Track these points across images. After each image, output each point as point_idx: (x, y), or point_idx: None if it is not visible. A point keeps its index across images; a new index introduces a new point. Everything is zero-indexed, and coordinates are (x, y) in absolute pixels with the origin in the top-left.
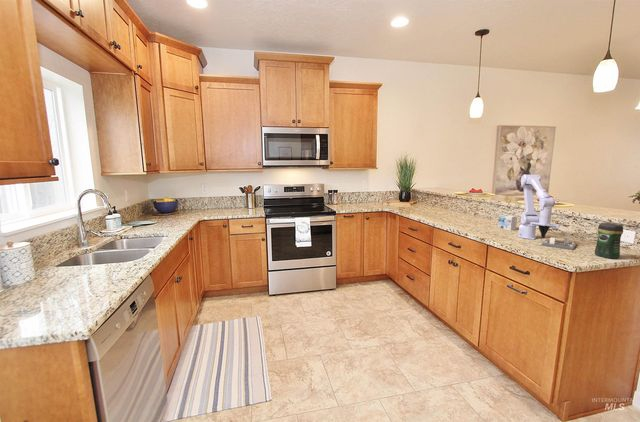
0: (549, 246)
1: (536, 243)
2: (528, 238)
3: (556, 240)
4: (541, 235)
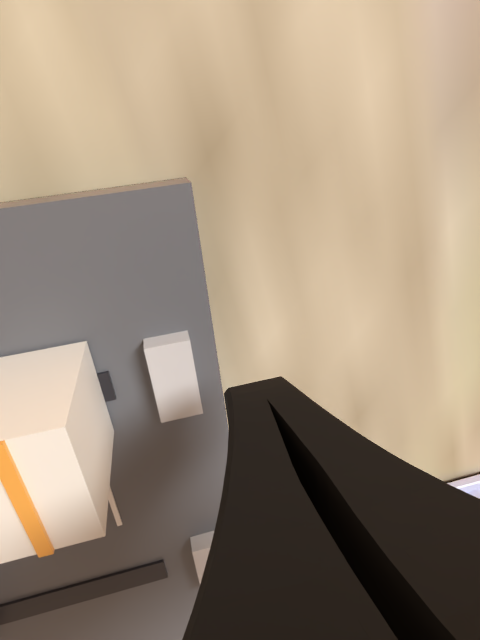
0: (27, 201)
1: (308, 283)
2: (457, 482)
3: (128, 635)
4: (310, 400)
